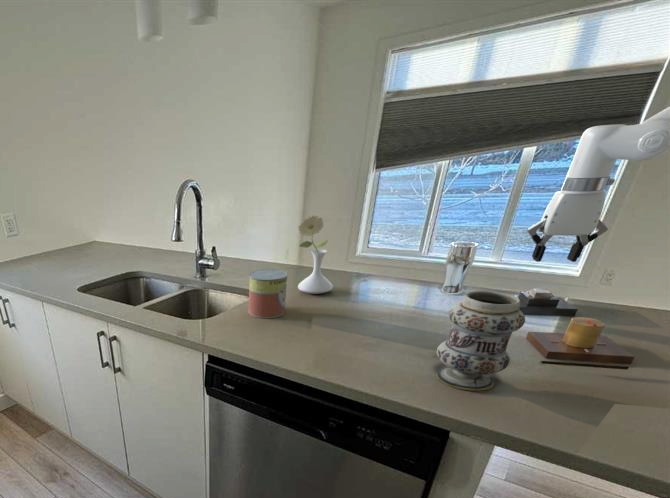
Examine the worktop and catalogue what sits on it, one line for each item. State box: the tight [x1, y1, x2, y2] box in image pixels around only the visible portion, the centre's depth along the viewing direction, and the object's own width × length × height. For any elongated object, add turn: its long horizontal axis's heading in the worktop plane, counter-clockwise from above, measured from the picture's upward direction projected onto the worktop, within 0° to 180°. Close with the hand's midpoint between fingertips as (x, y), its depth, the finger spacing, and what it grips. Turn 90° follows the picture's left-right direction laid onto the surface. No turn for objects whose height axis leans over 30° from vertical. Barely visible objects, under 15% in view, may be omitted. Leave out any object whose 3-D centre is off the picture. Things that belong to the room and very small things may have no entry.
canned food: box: [247, 268, 289, 319], centre depth 125 cm, size 11×11×12 cm
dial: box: [562, 316, 606, 348], centre depth 87 cm, size 5×5×5 cm
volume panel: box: [525, 331, 636, 370], centre depth 89 cm, size 14×11×3 cm
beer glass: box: [439, 241, 479, 296], centre depth 126 cm, size 7×7×15 cm
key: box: [528, 288, 553, 298], centre depth 111 cm, size 4×4×2 cm
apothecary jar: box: [435, 290, 526, 392], centre depth 81 cm, size 12×12×18 cm
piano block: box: [514, 291, 578, 318], centre depth 112 cm, size 14×10×4 cm
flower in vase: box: [297, 215, 334, 295], centre depth 135 cm, size 13×11×25 cm
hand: (553, 259), depth 106 cm, fingers open, 6 cm apart
